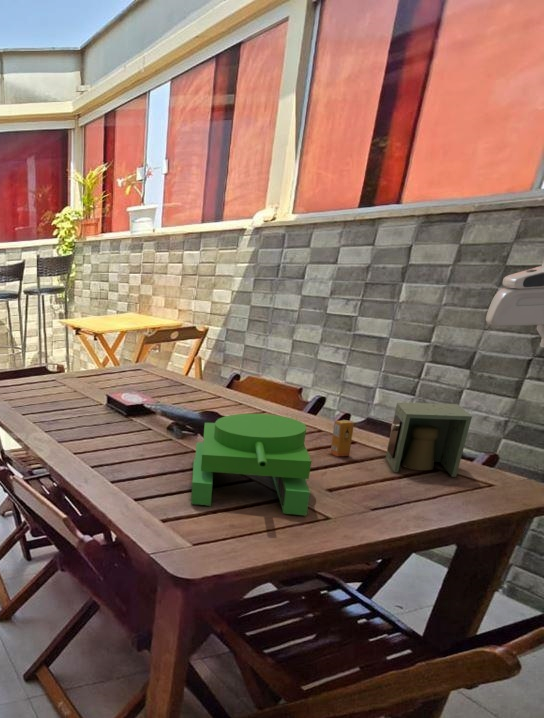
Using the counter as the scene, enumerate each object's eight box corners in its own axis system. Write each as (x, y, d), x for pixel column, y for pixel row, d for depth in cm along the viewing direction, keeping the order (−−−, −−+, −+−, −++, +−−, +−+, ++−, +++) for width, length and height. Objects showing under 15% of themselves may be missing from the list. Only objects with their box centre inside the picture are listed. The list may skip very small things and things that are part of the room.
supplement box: (341, 452, 142) (347, 419, 138) (349, 456, 138) (355, 422, 135) (329, 452, 142) (334, 420, 139) (336, 457, 139) (342, 423, 136)
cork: (432, 463, 129) (441, 423, 125) (434, 471, 125) (444, 431, 121) (401, 460, 133) (409, 421, 129) (402, 468, 128) (411, 428, 125)
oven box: (443, 461, 129) (457, 403, 124) (456, 477, 121) (472, 416, 116) (380, 457, 136) (391, 402, 131) (388, 471, 127) (400, 413, 122)
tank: (187, 514, 118) (191, 452, 113) (193, 461, 147) (196, 409, 141) (310, 528, 107) (322, 460, 101) (291, 468, 135) (299, 412, 130)
